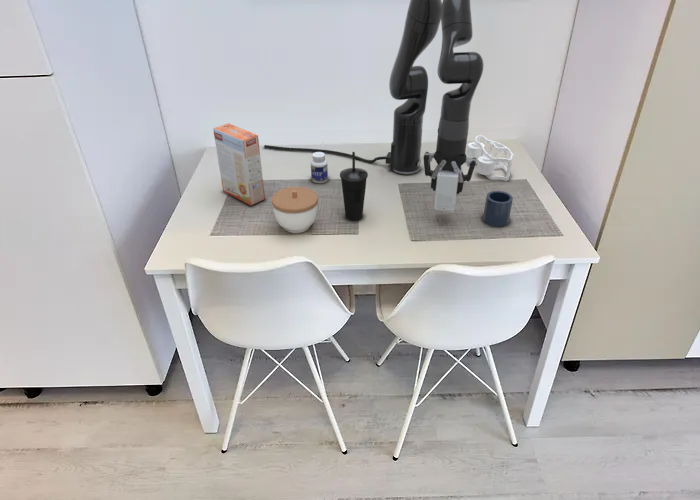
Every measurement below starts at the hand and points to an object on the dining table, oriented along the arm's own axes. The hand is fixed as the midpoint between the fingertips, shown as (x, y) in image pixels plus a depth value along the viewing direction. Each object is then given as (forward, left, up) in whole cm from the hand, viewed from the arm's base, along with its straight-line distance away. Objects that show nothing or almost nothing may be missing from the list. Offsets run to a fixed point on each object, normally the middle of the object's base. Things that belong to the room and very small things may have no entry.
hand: (446, 190), depth 146 cm
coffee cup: (+14, +4, -9) cm, 17 cm away
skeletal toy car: (+9, +37, -9) cm, 39 cm away
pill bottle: (-42, +14, -9) cm, 45 cm away
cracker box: (-61, -2, -9) cm, 61 cm away
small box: (0, 0, -4) cm, 4 cm away
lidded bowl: (-39, -14, -9) cm, 42 cm away
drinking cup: (-25, -5, -9) cm, 27 cm away
